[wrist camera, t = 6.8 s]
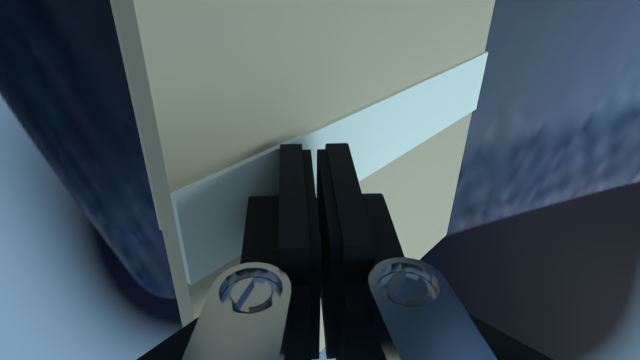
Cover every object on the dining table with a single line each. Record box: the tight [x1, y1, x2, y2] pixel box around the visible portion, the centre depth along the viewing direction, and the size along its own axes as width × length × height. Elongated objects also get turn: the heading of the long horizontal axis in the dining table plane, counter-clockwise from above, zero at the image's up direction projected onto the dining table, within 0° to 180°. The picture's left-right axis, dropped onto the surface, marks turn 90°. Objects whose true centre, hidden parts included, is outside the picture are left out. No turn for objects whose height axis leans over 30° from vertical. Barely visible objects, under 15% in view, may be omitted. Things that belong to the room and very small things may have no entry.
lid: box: [113, 0, 495, 352], centre depth 14 cm, size 14×16×1 cm
